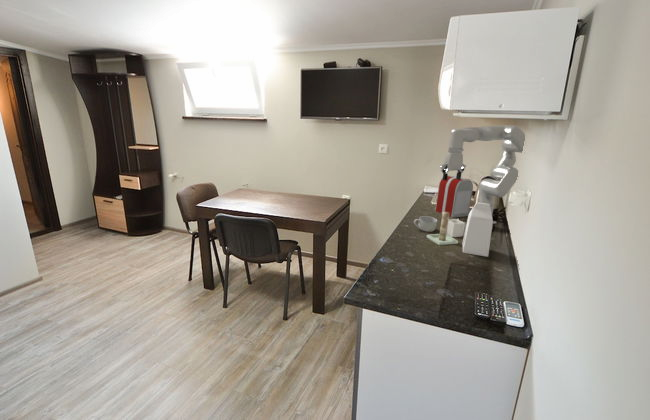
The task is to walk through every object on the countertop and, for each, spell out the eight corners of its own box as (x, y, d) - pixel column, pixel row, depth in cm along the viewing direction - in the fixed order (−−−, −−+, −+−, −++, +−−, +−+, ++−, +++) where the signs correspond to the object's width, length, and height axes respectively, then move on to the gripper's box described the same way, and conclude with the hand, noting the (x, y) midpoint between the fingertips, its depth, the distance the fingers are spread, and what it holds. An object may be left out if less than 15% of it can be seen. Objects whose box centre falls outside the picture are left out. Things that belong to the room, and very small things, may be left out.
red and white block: (451, 209, 251) (456, 174, 243) (469, 215, 236) (475, 179, 228) (434, 210, 244) (439, 175, 237) (451, 217, 229) (457, 180, 221)
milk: (462, 252, 169) (471, 204, 162) (461, 244, 179) (469, 199, 172) (488, 256, 165) (497, 207, 158) (485, 248, 175) (494, 202, 168)
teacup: (433, 228, 204) (435, 216, 202) (437, 234, 194) (439, 221, 192) (411, 227, 205) (412, 215, 203) (413, 232, 195) (415, 220, 193)
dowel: (442, 238, 185) (446, 211, 180) (446, 240, 182) (451, 213, 177) (437, 238, 184) (441, 211, 179) (441, 241, 181) (445, 213, 176)
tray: (444, 237, 190) (444, 233, 190) (457, 244, 179) (458, 241, 179) (426, 238, 187) (426, 234, 186) (438, 246, 176) (439, 242, 175)
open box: (454, 233, 198) (456, 219, 195) (462, 237, 191) (465, 223, 188) (443, 233, 195) (446, 219, 193) (451, 238, 188) (454, 223, 186)
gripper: (463, 149, 194) (459, 177, 199) (438, 150, 189) (435, 179, 194) (472, 151, 187) (467, 180, 192) (447, 151, 182) (443, 181, 187)
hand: (451, 179), depth 193 cm, fingers open, 9 cm apart
